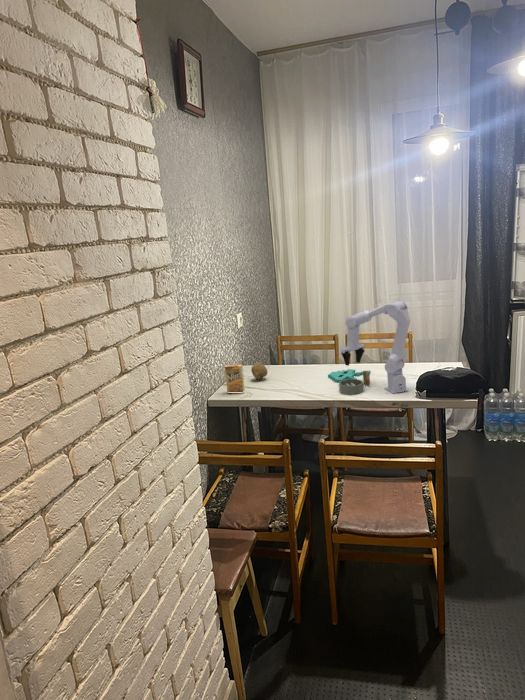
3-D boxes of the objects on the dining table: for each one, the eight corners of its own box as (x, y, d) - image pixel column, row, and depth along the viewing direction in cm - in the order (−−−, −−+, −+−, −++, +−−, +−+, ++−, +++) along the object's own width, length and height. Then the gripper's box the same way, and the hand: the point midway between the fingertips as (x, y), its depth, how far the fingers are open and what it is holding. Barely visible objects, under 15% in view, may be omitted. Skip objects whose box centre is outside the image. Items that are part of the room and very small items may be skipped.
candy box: (227, 394, 264) (224, 366, 261) (229, 391, 268) (226, 364, 265) (243, 393, 263) (240, 366, 259) (245, 391, 267) (242, 363, 263)
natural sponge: (267, 376, 290) (265, 360, 288) (269, 381, 281) (267, 364, 279) (251, 378, 289) (250, 362, 287) (253, 383, 280) (251, 366, 278)
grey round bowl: (367, 392, 247) (366, 383, 246) (345, 396, 245) (344, 387, 244) (357, 386, 258) (357, 377, 257) (336, 389, 256) (335, 381, 255)
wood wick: (370, 385, 257) (369, 372, 256) (367, 386, 257) (366, 373, 255) (366, 383, 262) (365, 370, 260) (363, 383, 261) (363, 370, 260)
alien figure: (370, 374, 278) (337, 372, 288) (370, 370, 277) (337, 368, 288) (358, 385, 261) (323, 382, 272) (357, 381, 261) (323, 378, 271)
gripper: (358, 335, 264) (357, 359, 268) (337, 339, 257) (337, 364, 260) (367, 337, 258) (366, 362, 262) (346, 342, 251) (346, 367, 255)
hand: (352, 363), depth 261 cm, fingers open, 7 cm apart
